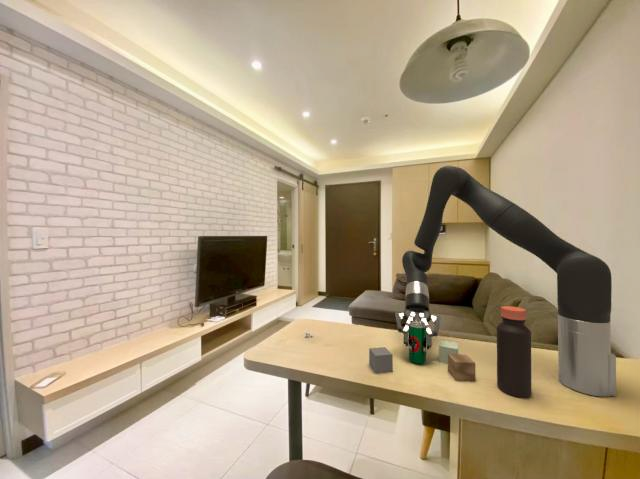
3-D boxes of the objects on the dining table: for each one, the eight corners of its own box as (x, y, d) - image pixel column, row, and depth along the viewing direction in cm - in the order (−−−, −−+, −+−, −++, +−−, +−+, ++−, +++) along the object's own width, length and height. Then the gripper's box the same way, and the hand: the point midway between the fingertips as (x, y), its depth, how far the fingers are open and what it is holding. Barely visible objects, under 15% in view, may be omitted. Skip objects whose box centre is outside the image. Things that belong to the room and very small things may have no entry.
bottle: (538, 394, 61) (537, 310, 62) (520, 401, 59) (520, 313, 59) (507, 380, 68) (507, 304, 68) (490, 386, 65) (490, 306, 65)
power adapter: (309, 336, 100) (309, 328, 100) (313, 338, 99) (313, 330, 99) (303, 338, 98) (303, 330, 98) (308, 340, 96) (308, 332, 96)
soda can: (428, 366, 75) (427, 325, 75) (409, 364, 76) (409, 324, 76) (424, 358, 80) (424, 320, 80) (407, 357, 81) (407, 319, 81)
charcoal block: (385, 363, 77) (385, 347, 77) (392, 372, 72) (392, 354, 72) (369, 365, 76) (369, 348, 76) (375, 373, 71) (375, 355, 71)
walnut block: (466, 372, 72) (466, 354, 72) (475, 382, 67) (475, 362, 67) (447, 371, 72) (447, 353, 73) (455, 381, 68) (455, 362, 68)
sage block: (458, 359, 80) (458, 343, 80) (457, 366, 75) (457, 349, 76) (440, 355, 82) (440, 340, 82) (439, 362, 78) (438, 345, 78)
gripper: (394, 290, 88) (391, 338, 77) (440, 293, 83) (445, 344, 72) (395, 302, 93) (393, 348, 82) (439, 305, 88) (443, 355, 77)
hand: (417, 346), depth 77 cm, fingers open, 5 cm apart
